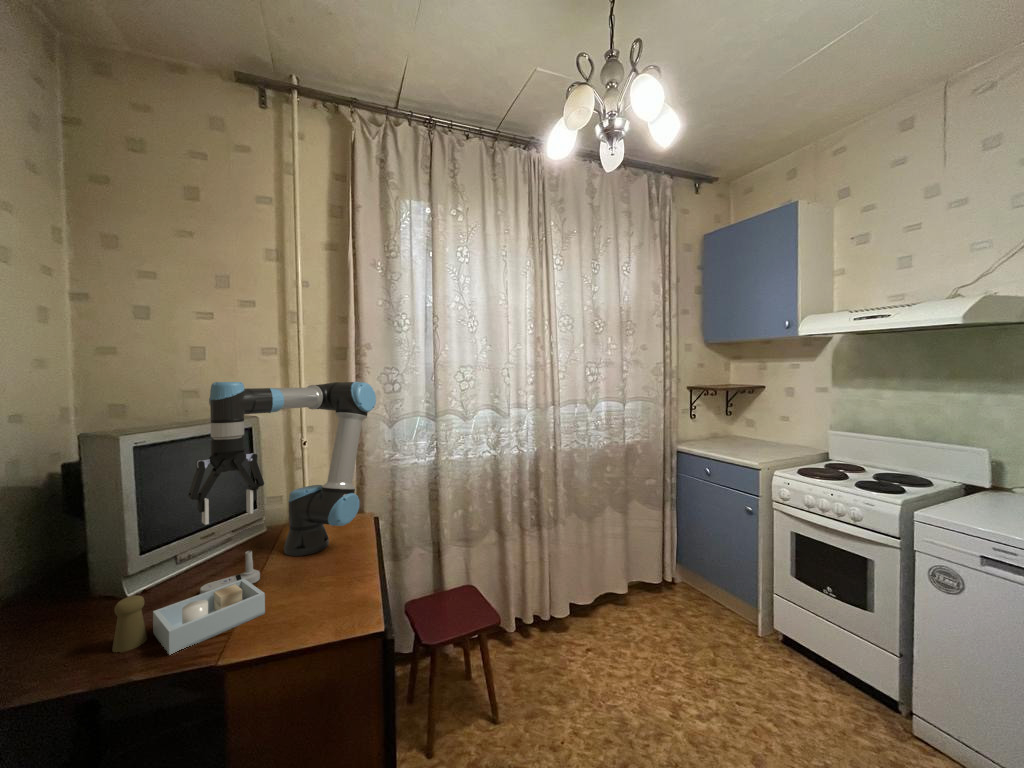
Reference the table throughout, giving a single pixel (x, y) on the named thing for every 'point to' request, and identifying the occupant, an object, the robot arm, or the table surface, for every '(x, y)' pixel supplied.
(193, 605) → the white egg
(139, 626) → the cork
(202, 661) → the table surface
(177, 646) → the tote
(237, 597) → the beech cube
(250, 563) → the electronic device
